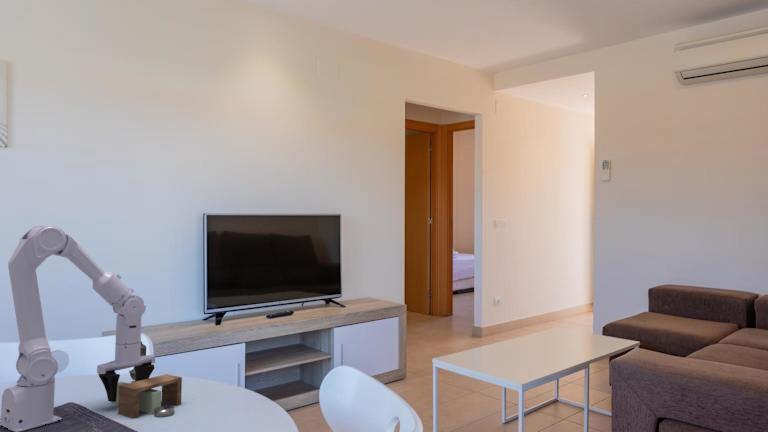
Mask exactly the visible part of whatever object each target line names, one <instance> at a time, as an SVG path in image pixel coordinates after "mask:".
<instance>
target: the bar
mask: <svg viewBox="0 0 768 432" xmlns="http://www.w3.org/2000/svg"><path fill="white" fill-rule="evenodd" d="M128 383H129V382H126V381H125V382H124V381H118V384H117V397H116V402H111V404H113V405H117V406H118V402H119V385H124V384H128ZM158 407H162V390H157V389H154V388H152V389H148V390H144V391H140V392H139V412H142V413H146V414H150V415H154V409H156V408H158Z"/></svg>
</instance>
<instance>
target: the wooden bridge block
mask: <svg viewBox="0 0 768 432" xmlns="http://www.w3.org/2000/svg"><path fill="white" fill-rule="evenodd" d="M135 381H136V380H135ZM131 382H132V383H131ZM131 382H127V383H128V384H124V385H119V402H118V405H117V407H118V408H117V414H118V415H120V416H124V417H128V418H131V419H136V418H137V419H138V418H139V413H140V411H139V392H140V391H144V390H148V389H154V388H159V387H161V403H166V404H171V405H175V406H180V405H182V392H183V391H182V385H183V383H182V382H183V377H182V376H177V375H172V374H167V373H166V374H162V375H157V376H154V377H153V376H152V377H149V378H148V379H144V380H140V381H136V382H133V381H131Z"/></svg>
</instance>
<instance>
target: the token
mask: <svg viewBox="0 0 768 432" xmlns="http://www.w3.org/2000/svg"><path fill="white" fill-rule="evenodd" d="M173 415H175V407H174V406H171V405H165V406H163V405H161V407H158V408H156V409H154V414H153V416H154V418H167V417H172V416H173Z"/></svg>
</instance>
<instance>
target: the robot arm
mask: <svg viewBox="0 0 768 432" xmlns="http://www.w3.org/2000/svg"><path fill="white" fill-rule="evenodd" d="M51 256H58V257H61V258H65V259H67V260H69V261H70V262H71V264H73V266H75V267H76V268H78V270H80V271H81V272H82V273H83V274H84V275H86V276H87V277H88V278H89V279H90V280H92V289H93V290H94V291H95V292H96V293H97V295H99V296H100V297H101V298H102V299H103V300H104V301H106V303H108V305H109V306H111V307H112V311H113V312H114V313H116V324H115V346H114V347H115V348H114V349H115V351H114V360H112V361H108V362H105V363H103V364H98V365H97V366H96V369H97V370H96V373H97V375H98V377H99V379H100V381H101V382H102V384H103V387H104V389H105V392H106V396H107V401H108V402H111V403H112V402H116V397H117V384H118V382H119V379H120V377H121V374H120V373H119V374H118V373H117V371H120V370H126V369H129V368H133V369H134V368H135V373H136V380H135V381H140V380H144V379H148V378H151V374H152V373H153V372H154V370H155V363H156V355H154V354H146V356H140V346H141V341H142V339H141V338H142V316H143V315H144V314H145V311H146V309H147V306H146V305H145V301H144V300H143V298H142V297H141V296H139V295H135V294H134V292H135V290H134V289H133V288H132V287H128V286H127V284H125V283H124V282H123V281H122V280H121V278H122V276H121V275H120V274H119V273H114V272H113V271H104V270H103V269H102V268H101V266H99V264H98V263H97V262H96V261H95V260H94V259H93V258H92V257H91V256H90V255H89V254H88V253H87V252H86V250H84V248H82V246H81V245H80V244H79V243H78V242H77V241H75V239H74V237H72V236H70V235H69V234H67V233H66V232H65V231H64V229H62V228H61V227H59V226H56V225H53V224H49V225H48V224H47V225H36V226H33V227H32V228H30V229H29V230H28V231H27V232H25V233H24V234H23V235H22V236H21V237H20V239H19V241H18V244H17V246H16V248H15V249H14V251H13V253H12V255H11V257H10V259H9V260H8V262H7V263H8V265H7V267H8V274H9V279H10V287H11V294H12V300H13V306H14V312H15V318H16V319H15V320H16V325H17V330H18V331H17V332H18V337H19V344H18V357H17V360H16V363H15V369H16V371H17V373H18V374H19V375H20V376H19V378H18V379H17V381H16V384H15V385H14V386H11V387H8V388H6V389H4V391H3V392H2V396H1V405H0V406H1V408H0V425H2V426H4V427H6V428H8V429H7V430H8V431H12V432H24V431H27V430H31V429H34V428H37V427H41V426H45V424H46V425H49V424H52V423H56V422H59V421H58V420H60V421H62V420H63V418H62V417H60V416H58V415H54V412H55V409H54V408H55V387H56V386H55V383H56V377H55V376H56V375H57V373H58V371H59V370H58V369H59V364H58V361H57V360H56V358H55V357H54V355H53V354H52V352H51V346H50V344H49V342H48V340H47V335H46V329H45V322H44V315H43V308H42V303H41V296H40V290H39V289H40V288H39V282H38V276H37V268H38V267H40V265H42V264H43V263H44V262H45V261H46V260H47V258H50V257H51ZM61 419H62V420H61ZM4 427H3V428H4ZM6 428H5V429H6Z"/></svg>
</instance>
